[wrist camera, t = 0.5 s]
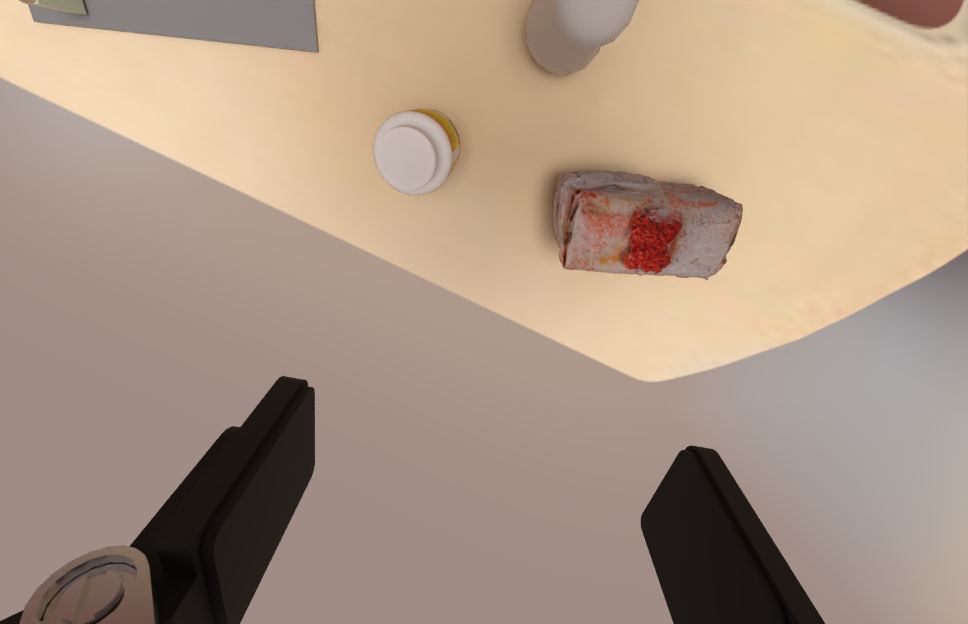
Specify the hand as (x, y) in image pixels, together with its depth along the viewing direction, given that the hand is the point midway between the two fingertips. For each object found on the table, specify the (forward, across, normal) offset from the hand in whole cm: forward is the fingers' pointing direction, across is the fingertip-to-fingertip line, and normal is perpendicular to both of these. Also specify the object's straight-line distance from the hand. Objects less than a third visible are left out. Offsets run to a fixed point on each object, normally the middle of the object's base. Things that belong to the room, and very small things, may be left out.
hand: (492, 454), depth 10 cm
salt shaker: (+31, -2, -13) cm, 33 cm away
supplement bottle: (+31, +7, -3) cm, 31 cm away
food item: (+31, -12, -1) cm, 33 cm away
